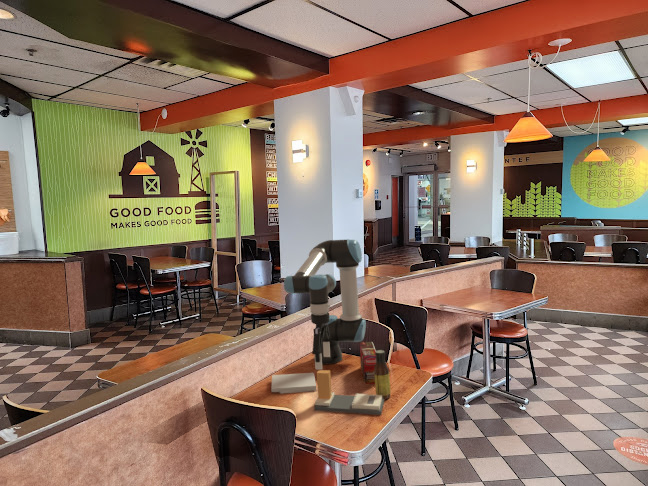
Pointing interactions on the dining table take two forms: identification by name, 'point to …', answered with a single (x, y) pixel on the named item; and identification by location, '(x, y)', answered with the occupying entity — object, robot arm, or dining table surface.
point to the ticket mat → (346, 406)
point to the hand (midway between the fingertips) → (323, 362)
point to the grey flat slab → (293, 383)
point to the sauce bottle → (381, 375)
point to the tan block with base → (324, 388)
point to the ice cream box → (368, 361)
